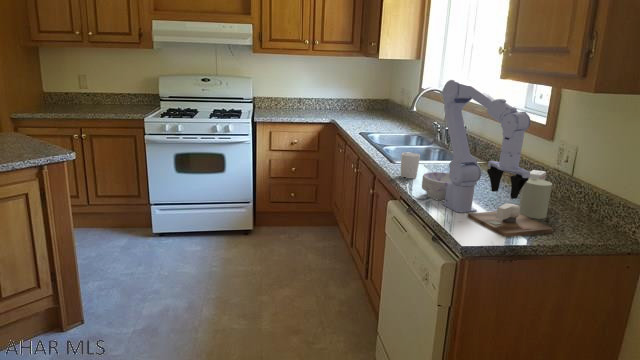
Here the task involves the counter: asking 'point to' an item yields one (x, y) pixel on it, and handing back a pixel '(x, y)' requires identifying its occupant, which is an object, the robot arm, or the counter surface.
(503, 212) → the white block
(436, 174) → the paper bowls
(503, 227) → the post board
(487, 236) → the counter surface
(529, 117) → the robot arm
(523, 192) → the can
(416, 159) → the white cup
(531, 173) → the ink box
